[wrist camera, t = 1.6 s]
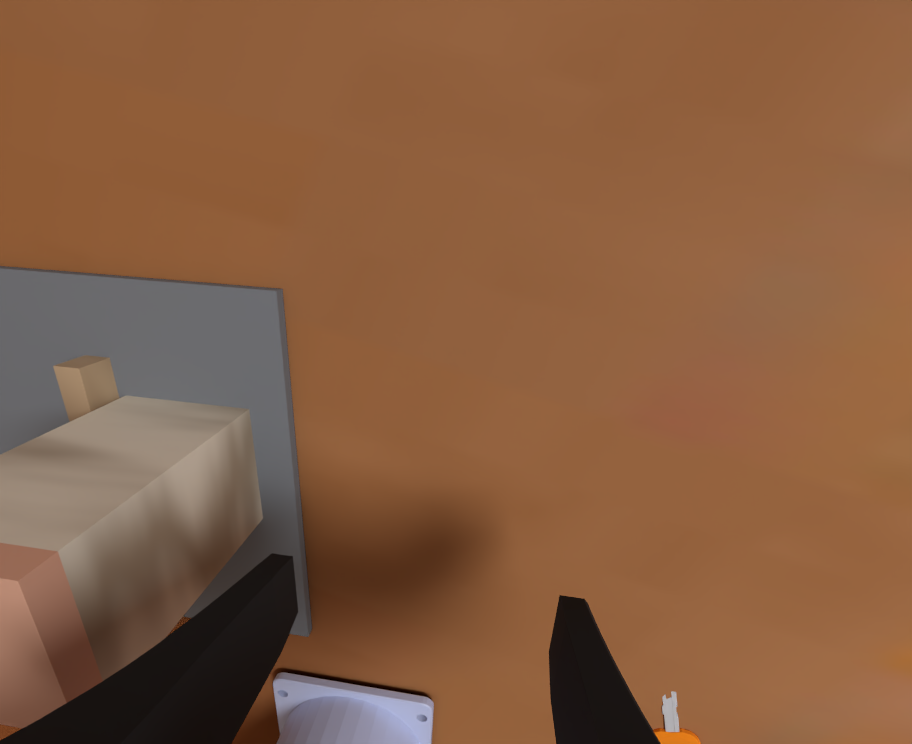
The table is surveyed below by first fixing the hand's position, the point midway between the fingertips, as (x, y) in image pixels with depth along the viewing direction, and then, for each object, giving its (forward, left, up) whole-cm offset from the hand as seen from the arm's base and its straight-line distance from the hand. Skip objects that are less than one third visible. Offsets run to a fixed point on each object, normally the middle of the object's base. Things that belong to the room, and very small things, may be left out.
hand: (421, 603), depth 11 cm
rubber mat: (-1, +14, -5) cm, 15 cm away
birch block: (0, +10, -5) cm, 11 cm away
